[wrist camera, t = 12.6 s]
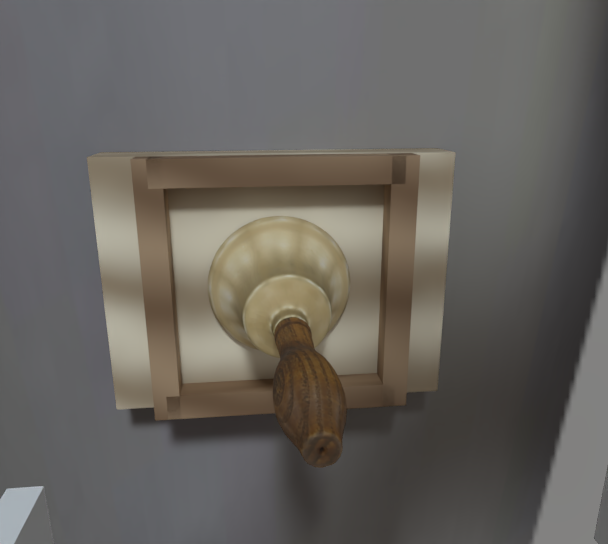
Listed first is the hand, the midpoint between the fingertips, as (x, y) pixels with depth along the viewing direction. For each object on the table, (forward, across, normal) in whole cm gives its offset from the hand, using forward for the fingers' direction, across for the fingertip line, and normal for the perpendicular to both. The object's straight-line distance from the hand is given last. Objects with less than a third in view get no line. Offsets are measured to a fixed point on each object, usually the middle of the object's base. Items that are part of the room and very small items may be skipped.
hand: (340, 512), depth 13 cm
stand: (+23, 0, -1) cm, 23 cm away
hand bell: (+20, 0, -1) cm, 20 cm away
